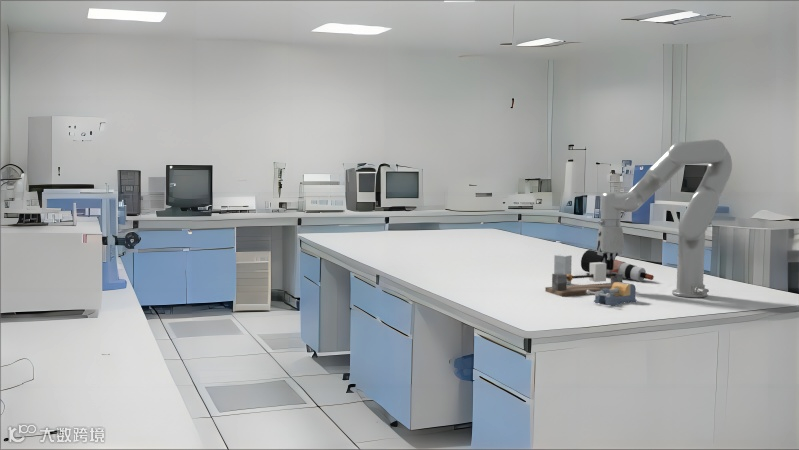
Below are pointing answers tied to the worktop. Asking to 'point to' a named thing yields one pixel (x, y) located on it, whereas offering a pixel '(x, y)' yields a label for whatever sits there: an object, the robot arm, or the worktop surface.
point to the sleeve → (597, 271)
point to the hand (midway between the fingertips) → (609, 269)
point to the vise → (615, 294)
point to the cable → (615, 267)
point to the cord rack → (562, 289)
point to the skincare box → (562, 264)
